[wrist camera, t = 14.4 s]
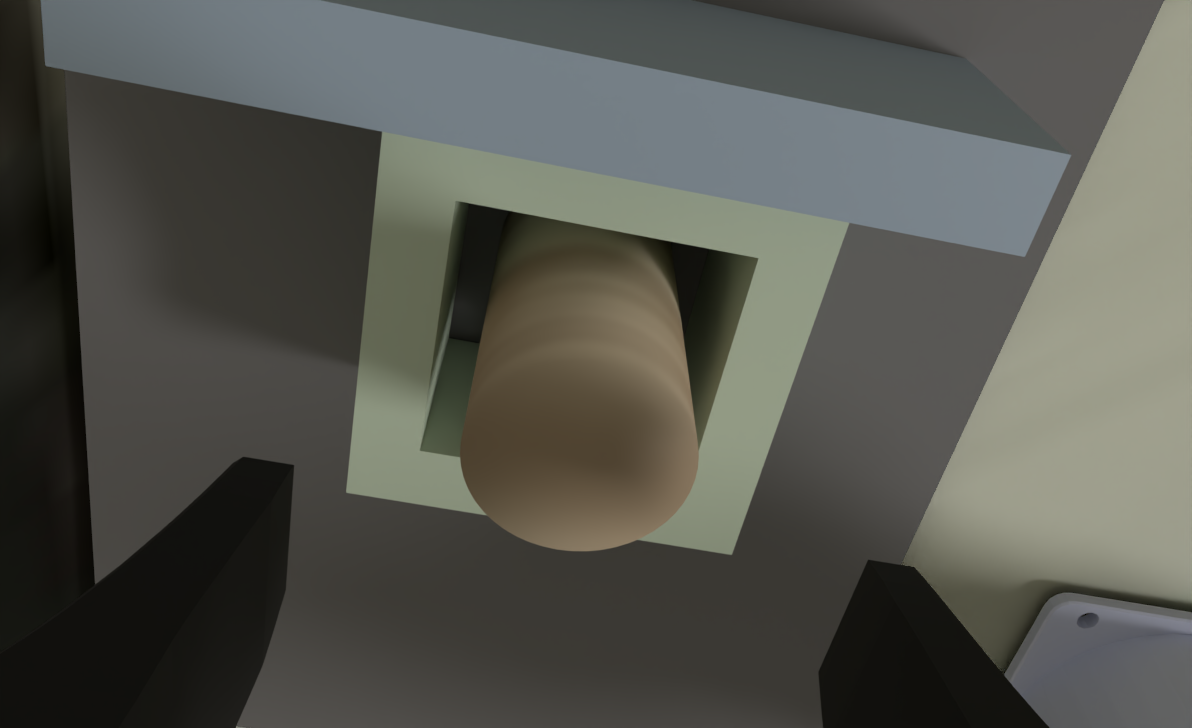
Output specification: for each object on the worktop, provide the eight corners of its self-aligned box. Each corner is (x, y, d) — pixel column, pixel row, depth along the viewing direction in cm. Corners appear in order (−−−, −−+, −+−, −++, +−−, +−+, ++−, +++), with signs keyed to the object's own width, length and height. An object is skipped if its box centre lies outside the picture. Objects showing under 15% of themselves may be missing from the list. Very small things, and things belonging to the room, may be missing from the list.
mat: (1196, -97, 18) (1207, -94, 18) (787, 791, 30) (789, 803, 30) (50, -365, 16) (38, -366, 16) (108, 695, 28) (102, 707, 28)
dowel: (649, 338, 22) (667, 567, 16) (488, 308, 22) (445, 531, 16) (689, 188, 20) (726, 383, 14) (515, 154, 20) (478, 338, 14)
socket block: (812, 119, 19) (856, 202, 16) (712, 432, 23) (731, 555, 20) (424, 39, 19) (384, 109, 15) (385, 376, 22) (345, 492, 19)
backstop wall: (966, 58, 19) (1071, 154, 15) (934, 142, 20) (1025, 256, 15) (175, -110, 18) (37, -59, 13) (175, -13, 18) (44, 65, 14)
